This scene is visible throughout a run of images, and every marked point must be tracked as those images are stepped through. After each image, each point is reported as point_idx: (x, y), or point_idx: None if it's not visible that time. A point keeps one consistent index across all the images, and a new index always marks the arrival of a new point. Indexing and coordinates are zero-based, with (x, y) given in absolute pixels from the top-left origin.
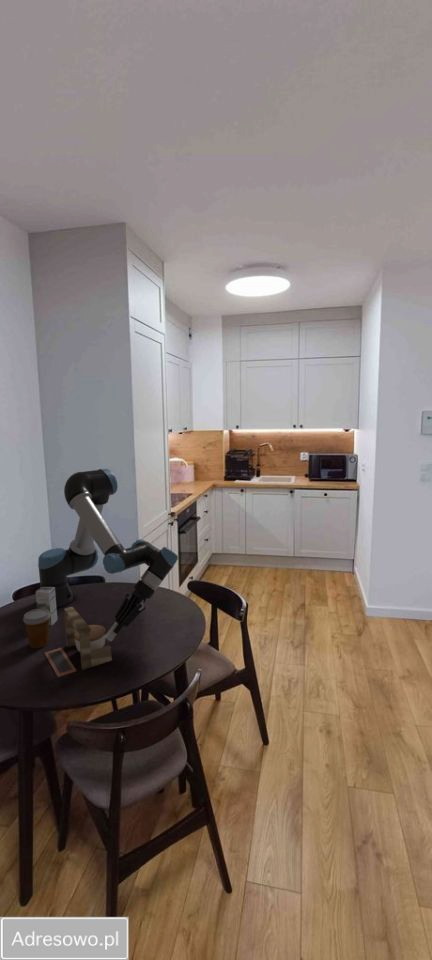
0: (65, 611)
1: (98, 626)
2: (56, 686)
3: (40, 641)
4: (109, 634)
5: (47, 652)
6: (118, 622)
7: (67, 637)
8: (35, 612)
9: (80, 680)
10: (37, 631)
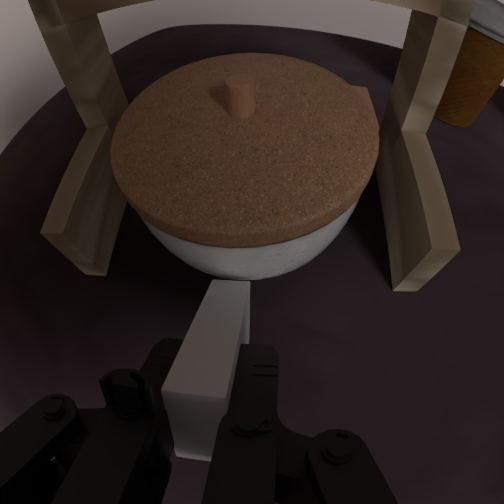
0: None
1: (287, 188)
2: (121, 83)
3: None
4: (203, 305)
5: (362, 92)
6: (104, 381)
7: (385, 110)
8: (502, 10)
9: (82, 133)
10: None
